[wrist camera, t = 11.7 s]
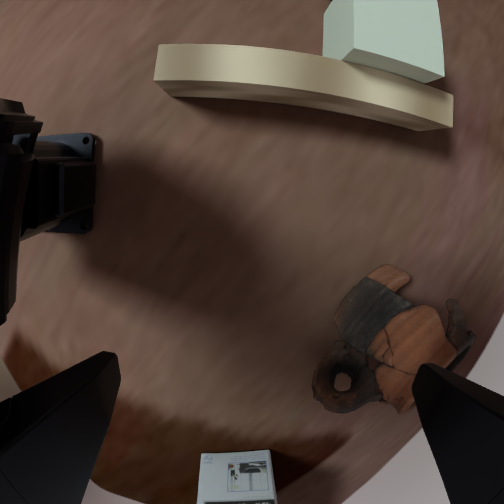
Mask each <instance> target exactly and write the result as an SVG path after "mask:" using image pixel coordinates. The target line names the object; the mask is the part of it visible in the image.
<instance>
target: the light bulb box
mask: <svg viewBox="0 0 504 504" xmlns="http://www.w3.org/2000/svg"><path fill="white" fill-rule="evenodd" d="M197 504H278V503H277V496H276V490H275V483H274V477H273V470H272V462H271V454H270V450H260V451H248V452H232V453H202V454H201V464H200V475H199V487H198V499H197Z"/></svg>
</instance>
